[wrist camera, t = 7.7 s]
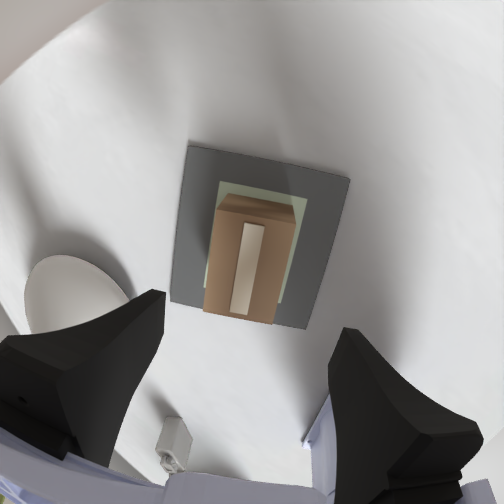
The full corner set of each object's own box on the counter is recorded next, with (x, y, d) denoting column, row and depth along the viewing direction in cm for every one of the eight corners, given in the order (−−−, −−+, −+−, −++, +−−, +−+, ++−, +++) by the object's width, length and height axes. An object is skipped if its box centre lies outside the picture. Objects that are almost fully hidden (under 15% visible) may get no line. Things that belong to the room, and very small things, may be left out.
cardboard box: (292, 205, 20) (296, 225, 16) (273, 291, 22) (272, 325, 18) (227, 193, 20) (215, 209, 16) (214, 279, 22) (202, 312, 18)
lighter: (165, 416, 29) (143, 479, 21) (181, 417, 29) (161, 482, 21) (186, 453, 31) (171, 510, 24) (201, 454, 31) (187, 512, 24)
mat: (305, 326, 23) (305, 330, 23) (171, 298, 23) (169, 301, 23) (348, 178, 19) (350, 179, 19) (190, 145, 19) (187, 146, 19)
